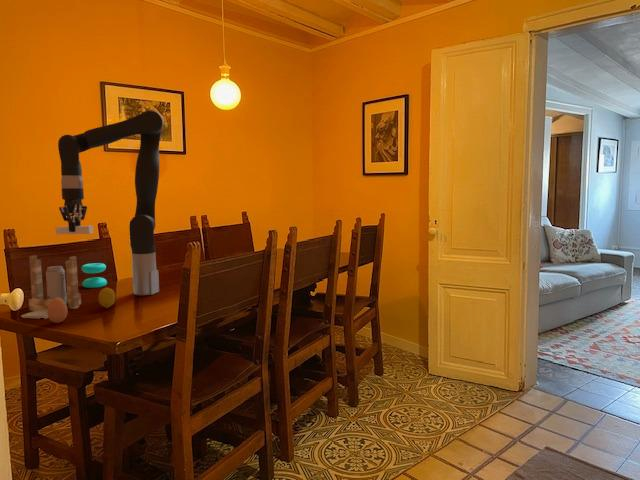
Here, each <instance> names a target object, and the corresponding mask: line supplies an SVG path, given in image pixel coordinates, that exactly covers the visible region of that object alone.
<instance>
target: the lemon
mask: <svg viewBox="0 0 640 480" xmlns="http://www.w3.org/2000/svg"><path fill="white" fill-rule="evenodd" d="M98 302H99V304H100V306H102V307H103V308H105V309H109V308H110V307H112V306H113V305H114V304H115V302H116V293H115V291H114V290H113V289H112V288H109V287H108V286H104V288H102V289H101V290H100V291H99V294H98Z"/></svg>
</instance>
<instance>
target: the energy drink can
mask: <svg viewBox="0 0 640 480" xmlns="http://www.w3.org/2000/svg"><path fill="white" fill-rule="evenodd" d="M45 278H46V279H45V281H46V294H47V295H46V296H47V299H46V300H53V299H54V298H61V299H62V300H63V301H64V302H65V303H66V305H68V304H67V301H66V293H67V283H66V270H65V269H64V267H63V266H62V265H54V266H52V265H51V266H48V267H47V269H46V271H45Z"/></svg>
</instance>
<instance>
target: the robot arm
mask: <svg viewBox="0 0 640 480" xmlns="http://www.w3.org/2000/svg"><path fill="white" fill-rule="evenodd" d="M163 128H164V119H163V117H162V116H161V114H160V113H159V112H158V111H156V110H150V109H149V110H146V111H144V112H141V113H139V114H137V115H135V116H133V117H131V118H129V119H128V118H127V119H124V120H121V121H119V122H114V123H109V124H107V125H102V126H98V127H94V128H91V129H88V130H86V131H84V132H83V133H79V134H75V135H71V134H64V135H61V137H59V139H58V141H57V142H58V144H57V148H58V154H59V159H60V172H61V177H60V178H61V179H60V183H61V184H60V186H61V199H62V200H64V204H63V206H59V207H58V209H59V212H60V215H61V217H62V219H63V221H64V222H67V223H68V225H67V226H69V232H75V226H82V225H81V222H82V221H83V220H85V219H86V214H87V210H88V206H87V205H84V204H83V202H82V201H83V200H84V199H85V194H84V179H83V171H82V170H83V169H82V163H81V161H80V154H81V153H83V152H87V151H88V150H89V151H90V150H91V149H95V148H98V147H102V146H106V145H110V144H113V143H116V142H117V141H120V140H123V139H125V138H129V137H132V136H136V135H140V147H139V150H138V153H137V158H136V164H135V169H134V171H135V172H134V187H135V196H136V207H135V213H134V217H132V218H131V219H130V222H129V226H128V227H129V240H130V241H129V242H130V244H129V245H130V249H131V259H132V260H131V263H132V286H133V295H134V296H152V295H154V294H157V293H159V292H160V279H159V269H157V259H156V258H157V256H156V255H157V253H156V252H157V251H156V245H155V236H154V235H155V229H156V200H157V195H158V190H159V189H158V187H159V181H160V143H161V136H162V131H163Z"/></svg>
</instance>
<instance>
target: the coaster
mask: <svg viewBox="0 0 640 480" xmlns="http://www.w3.org/2000/svg"><path fill="white" fill-rule="evenodd" d="M20 317H22V319H40V318H44V319H43V320H46V319H49V317H48V315H47V309H38V310H35V311H30V312H27V313H24V314H21V315H20Z"/></svg>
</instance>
